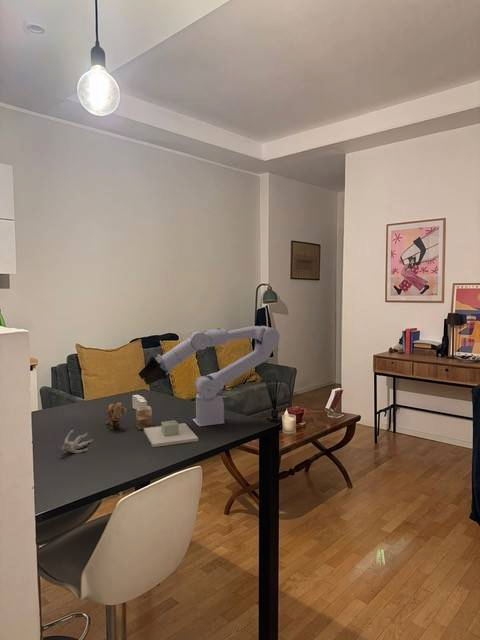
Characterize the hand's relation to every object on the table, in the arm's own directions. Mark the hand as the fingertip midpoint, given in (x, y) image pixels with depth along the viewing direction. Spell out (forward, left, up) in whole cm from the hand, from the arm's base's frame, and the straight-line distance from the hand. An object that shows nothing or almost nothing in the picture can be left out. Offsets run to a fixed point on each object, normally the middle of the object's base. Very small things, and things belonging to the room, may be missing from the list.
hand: (142, 379), depth 152 cm
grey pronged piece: (+22, +12, -17) cm, 30 cm away
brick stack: (-1, -2, -17) cm, 17 cm away
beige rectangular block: (-2, -22, -18) cm, 28 cm away
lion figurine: (+8, -8, -17) cm, 20 cm away
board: (-6, +11, -17) cm, 21 cm away
